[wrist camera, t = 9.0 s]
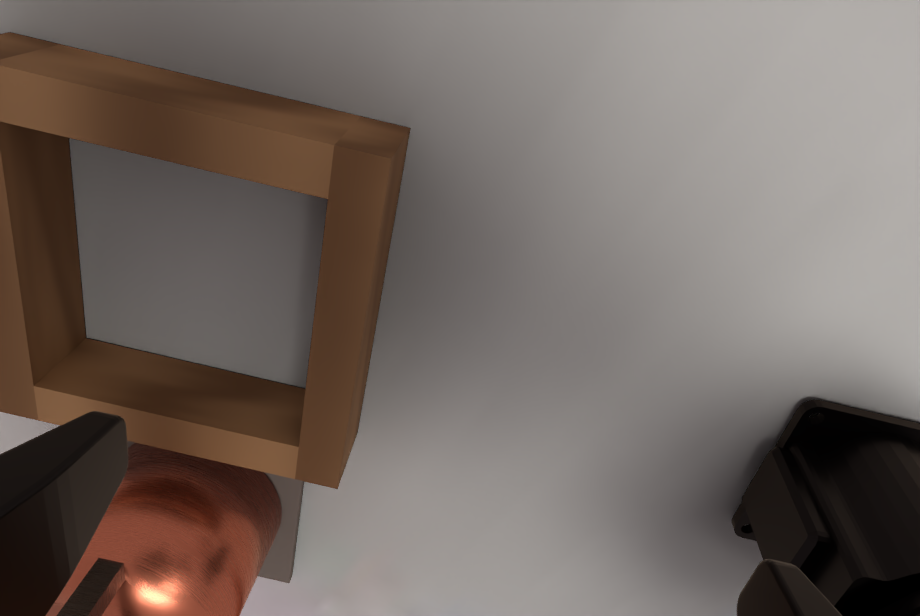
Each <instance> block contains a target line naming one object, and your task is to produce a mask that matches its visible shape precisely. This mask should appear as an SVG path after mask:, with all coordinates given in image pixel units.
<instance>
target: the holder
mask: <svg viewBox="0 0 920 616" xmlns="http://www.w3.org/2000/svg"><path fill="white" fill-rule="evenodd" d="M409 134H410V128H408V127H403V126H399V125H395V124H391V123H387V122H382V121H378V120H374V119H370V118H366V117H362V116H357V115H353V114H349V113H345V112H341V111H337V110H332V109H328V108H324V107H320V106H316V105H311V104H307V103H303V102H299V101H295V100H291V99H286V98H282V97H278V96H274V95H270V94H266V93H261V92H257V91H253V90H249V89H245V88H240V87H236V86H232V85H228V84H224V83H220V82H215V81H211V80H207V79H203V78H199V77H195V76H190V75H186V74H182V73H178V72H174V71H169V70H165V69H161V68H157V67H153V66H149V65H144V64H140V63H136V62H132V61H128V60H124V59H119V58H115V57H111V56H107V55H103V54H98V53H94V52H90V51H86V50H82V49H78V48H73V47H69V46H65V45H61V44H57V43H53V42H48V41H44V40H40V39H36V38H32V37H27V36H23V35H19V34H15V33H11V32H9V33H4V34H0V412H4V413H9V414H13V415H18V416H22V417H26V418H31V419H35V420H39V421H44V422H48V423H52V424H57V425H63V424H65V423H67V422H69V421H71V420H73V419H76V418H78V417H80V416H82V415H84V414H86V413H89V412H92V411H100V412H104V413H109V414H113V415H118V416H120V417H122V418H123V419H124V420H125V423H126V431H127V441H131V442H135V443H139V444H144V445H148V446H153V447H157V448H161V449H166V450H170V451H174V452H179V453H183V454H187V455H192V456H196V457H200V458H205V459H209V460H214V461H218V462H222V463H227V464H231V465H235V466H240V467H244V468H248V469H253V470H257V471H261V472H266V473H270V474H274V475H279V476H283V477H288V478H292V479H296V480H301V481H305V482H309V483H314V484H318V485H322V486H327V487H331V488H335V489H338V486H339V483H340V480H341V477H342V475H343V472H344V469H345V466H346V463H347V460H348V458H349V455H350V452H351V449H352V446H353V444H354V441H355V438H356V435H357V432H358V427H359V421H360V415H361V409H362V404H363V398H364V392H365V386H366V381H367V375H368V369H369V363H370V358H371V352H372V346H373V340H374V335H375V329H376V323H377V317H378V312H379V306H380V300H381V294H382V289H383V283H384V277H385V272H386V266H387V260H388V254H389V249H390V243H391V237H392V231H393V226H394V220H395V214H396V208H397V203H398V197H399V191H400V185H401V180H402V174H403V168H404V162H405V157H406V151H407V145H408V139H409ZM69 138H72V139H76V140H81V141H85V142H89V143H93V144H97V145H102V146H106V147H110V148H114V149H118V150H123V151H127V152H131V153H135V154H140V155H144V156H148V157H152V158H156V159H161V160H165V161H169V162H173V163H178V164H182V165H186V166H190V167H194V168H199V169H203V170H207V171H211V172H216V173H220V174H224V175H228V176H232V177H237V178H241V179H245V180H249V181H253V182H258V183H262V184H266V185H270V186H275V187H279V188H283V189H287V190H291V191H296V192H300V193H304V194H308V195H313V196H317V197H321V198H325V199H328V202H327V211H326V219H325V228H324V236H323V245H322V253H321V262H320V270H319V279H318V287H317V296H316V304H315V313H314V321H313V330H312V338H311V347H310V355H309V364H308V372H307V381H306V389H303V388H299V387H294V386H290V385H286V384H281V383H277V382H273V381H269V380H264V379H260V378H256V377H251V376H247V375H243V374H238V373H234V372H230V371H225V370H221V369H217V368H213V367H208V366H204V365H200V364H195V363H191V362H187V361H182V360H178V359H174V358H169V357H165V356H161V355H156V354H152V353H148V352H144V351H139V350H135V349H131V348H126V347H122V346H118V345H113V344H109V343H105V342H100V341H96V340H92V339H88V338H86V333H85V322H84V310H83V299H82V287H81V276H80V264H79V253H78V241H77V230H76V219H75V207H74V196H73V184H72V173H71V161H70V150H69Z"/></svg>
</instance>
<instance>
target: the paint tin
mask: <svg viewBox="0 0 920 616" xmlns="http://www.w3.org/2000/svg"><path fill="white" fill-rule="evenodd" d="M281 518H282V509H281V504H280V500H279V497H278V494H277V492H276V490H275V488H274V486H273V484H272V483H271V481H270V480H269V478H268V477H267V476H266V474H265V473H264V472H261V471H257V470H253V469H248V468H244V467H240V466H235V465H231V464H227V463H222V462H218V461H214V460H209V459H205V458H200V457H196V456H192V455H187V454H183V453H179V452H174V451H170V450H166V449H161V448H157V447H153V446H148V445H144V444H139V443H134V444H133V445H131V446H130V447H129V448H128V467H127V471H126V474H125V476H124V478H123V480H122V482H121V484H120V486H119V488H118V490H117V492H116V494H115V496H114V497H113V499H112V501H111V503H110V505H109V507H108V509H107V511H106V513H105V515H104V516H103V518H102V520H101V522H100V524H99V526H98V528H97V530H96V532H95V534H94V535H93V537H92V539H91V541H90V543H89V545H88V547H87V549H86V551H85V552H84V554H83V556H82V558H81V560H80V562H79V564H78V565H77V567H76V569H75V571H74V573H73V574H72V576H71V578H70V579H69V581H68V583H67V584H66V586H65V587H64V589H63V590H62V592H61V594H60V595H59V597H58V598H57V600H56V601H55V603H54V604H53V606H52V607H51V609H50V610H49V612H48V613H47V614H46V616H239V615H240V613H241V611H242V609H243V607H244V604H245V602H246V600H247V598H248V596H249V593H250V591H251V589H252V587H253V585H254V583H255V580H256V578H257V576H258V574H259V572H260V569H261V567H262V565H263V563H264V561H265V559H266V556H267V554H268V552H269V550H270V548H271V545H272V543H273V541H274V539H275V537H276V535H277V532H278V530H279V527H280V524H281Z"/></svg>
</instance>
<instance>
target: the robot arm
mask: <svg viewBox="0 0 920 616" xmlns="http://www.w3.org/2000/svg"><path fill="white" fill-rule="evenodd" d="M814 413H819V414H818V415H817V416H814V417H809V416H810V415H812V414H814ZM127 467H128V445H127V431H126V423H125V420H124V419H123V418H122V417H120V416H118V415H113V414H109V413H104V412H100V411H92V412H89V413H86V414H84V415H82V416H80V417H78V418H76V419H73V420H71V421H69V422H67V423H65V424H63V425H61V426H59V427H57V428H55V429H52V430H50V431H48V432H46V433H44V434H42V435H40V436H38V437H36V438H34V439H31V440H29V441H27V442H25V443H23V444H21V445H19V446H17V447H15V448H13V449H10V450H8V451H6V452H4V453H2V454H0V616H46V614H47V613H48V612H49V610H50V609H51V607H52V606H53V604H54V603H55V601H56V600H57V598H58V597H59V595H60V594H61V592H62V590H63V589H64V587H65V586H66V584H67V583H68V581H69V579H70V578H71V576H72V574H73V573H74V571H75V569H76V567H77V565H78V564H79V562H80V560H81V558H82V556H83V554H84V552H85V551H86V549H87V547H88V545H89V543H90V541H91V539H92V537H93V535H94V534H95V532H96V530H97V528H98V526H99V524H100V522H101V520H102V518H103V516H104V515H105V513H106V511H107V509H108V507H109V505H110V503H111V501H112V499H113V497H114V496H115V494H116V492H117V490H118V488H119V486H120V484H121V482H122V480H123V478H124V476H125V474H126V471H127ZM746 524H749V525H746ZM732 525H733V528H734V531H735V533H736V534H737V535H738V536H740V537H742V538H746V539H751V540H755V541H757V543H758V546H759V549H760V552H761V554H762V557H763V561H761V562H760V564H759V565H758V566H757V568H756V570H755V571H754V573H753V574H752V576H751V577H750V579H749V581H748V582H747V584H746V585H745V587H744V588H743V590H742V592H741V593H740V595H739V598H738V603H737V616H920V423H915V422H911V421H907V420H903V419H898V418H894V417H890V416H886V415H881V414H877V413H873V412H869V411H864V410H860V409H856V408H852V407H847V406H843V405H839V404H835V403H830V402H826V401H822V400H809V401H806V402H804V403H803V404H801V405H800V407H799V408H798V409H797V411H796V413H795V414H794V416H793V418H792V419H791V421H790V423H789V424H788V426H787V428H786V429H785V431H784V433H783V434H782V436H781V438H780V439H779V441H778V443H777V444H776V446H775V448H773V449H772V450H771V451H770V452H769V453H768V455H767V456H766V458H765V460H764V461H763V463H762V465H761V467H760V468H759V470H758V472H757V473H756V475H755V477H754V478H753V480H752V482H751V483H750V485H749V487H748V488H747V490H746V492H745V493H744V495H743V497H742V503H741V505H740V506H739V508H738V510H737V511H736V513H735V515H734V516H733V518H732Z"/></svg>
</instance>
